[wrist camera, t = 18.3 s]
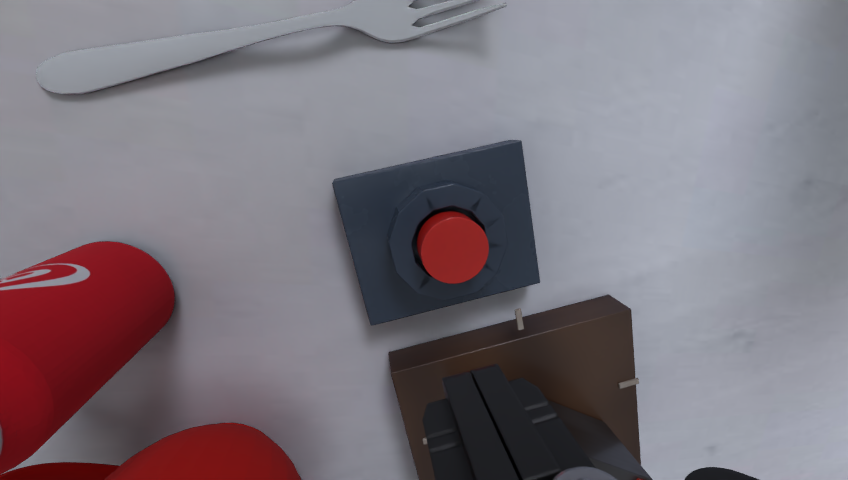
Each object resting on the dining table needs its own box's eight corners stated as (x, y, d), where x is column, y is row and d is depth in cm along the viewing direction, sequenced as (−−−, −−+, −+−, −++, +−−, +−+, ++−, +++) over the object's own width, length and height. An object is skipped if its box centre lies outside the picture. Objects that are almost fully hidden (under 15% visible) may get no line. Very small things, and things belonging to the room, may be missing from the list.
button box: (370, 314, 26) (371, 340, 23) (333, 178, 24) (329, 186, 20) (529, 274, 27) (553, 293, 24) (511, 139, 25) (534, 140, 21)
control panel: (427, 499, 31) (432, 532, 28) (381, 324, 26) (383, 345, 24) (621, 441, 32) (644, 468, 30) (608, 266, 28) (632, 280, 25)
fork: (23, 47, 20) (-9, 39, 18) (490, -42, 22) (500, -56, 20) (53, 113, 21) (26, 112, 19) (499, 22, 23) (510, 14, 21)
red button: (423, 279, 23) (428, 291, 21) (410, 219, 22) (414, 226, 20) (484, 264, 23) (494, 274, 21) (473, 204, 22) (483, 210, 20)
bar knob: (454, 397, 26) (476, 461, 21) (470, 369, 25) (497, 427, 20) (588, 446, 28) (636, 513, 23) (604, 421, 28) (657, 484, 23)
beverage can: (65, 227, 22) (-253, 328, 11) (186, 249, 23) (15, 361, 12) (60, 328, 24) (-228, 514, 12) (174, 344, 25) (11, 527, 13)
